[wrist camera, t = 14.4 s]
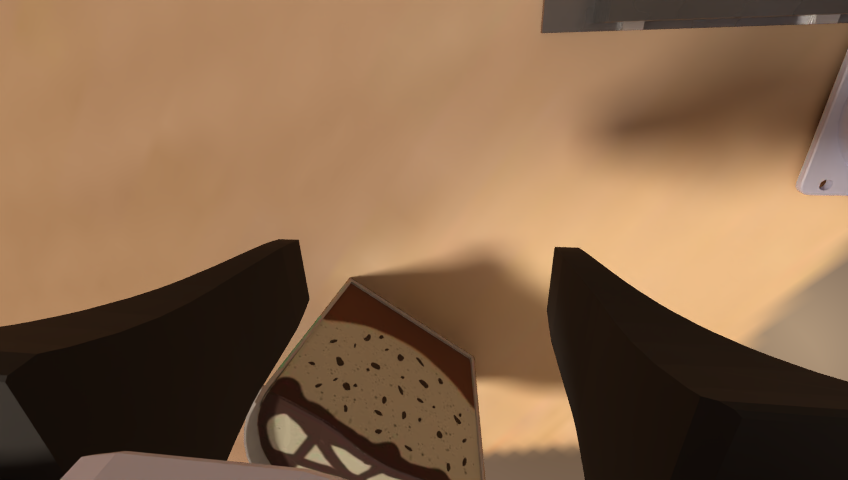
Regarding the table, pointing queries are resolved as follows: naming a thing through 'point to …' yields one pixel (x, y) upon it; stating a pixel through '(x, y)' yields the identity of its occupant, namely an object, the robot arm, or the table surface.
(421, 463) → the food container
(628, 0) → the frame
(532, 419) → the table surface
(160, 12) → the table surface
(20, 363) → the robot arm
